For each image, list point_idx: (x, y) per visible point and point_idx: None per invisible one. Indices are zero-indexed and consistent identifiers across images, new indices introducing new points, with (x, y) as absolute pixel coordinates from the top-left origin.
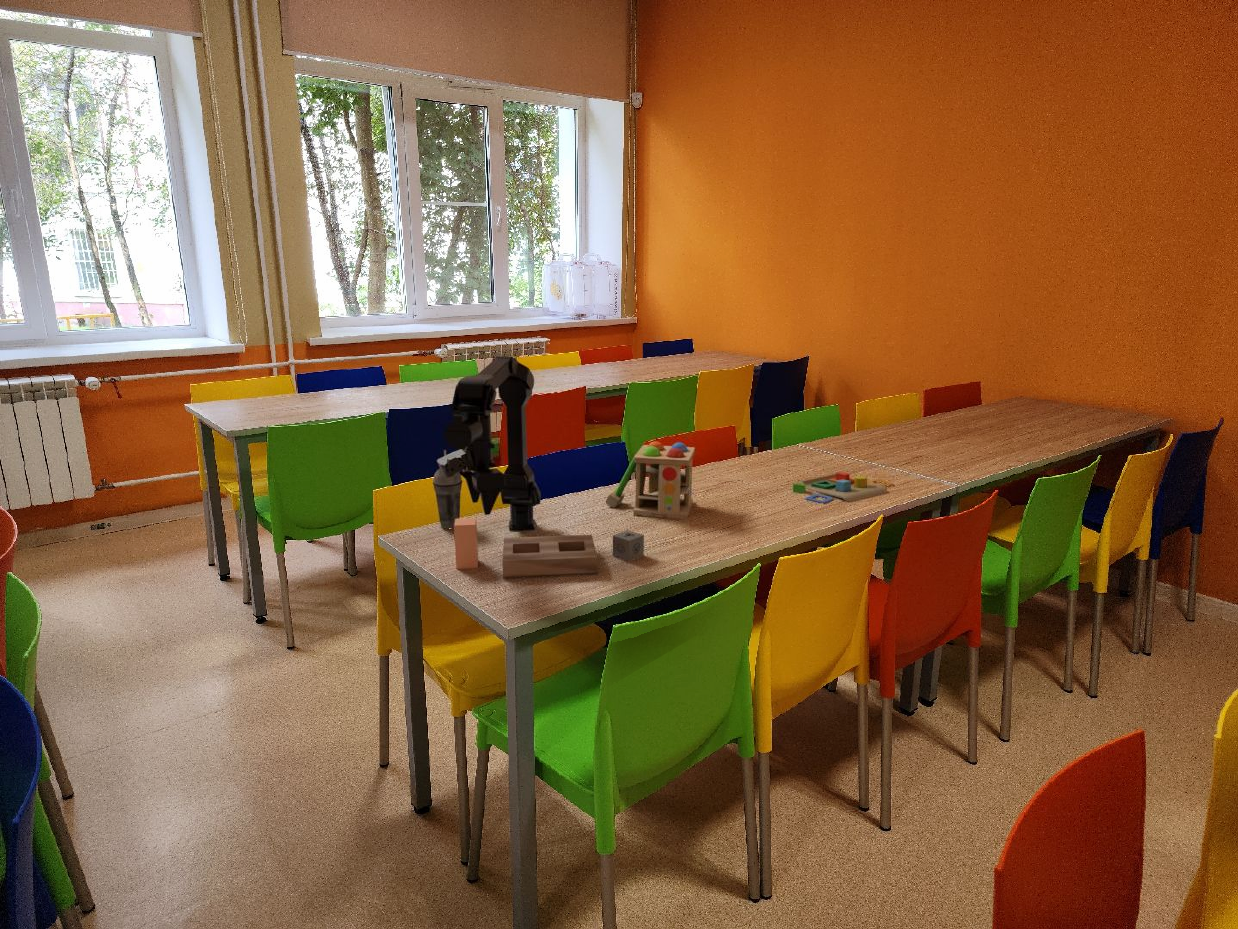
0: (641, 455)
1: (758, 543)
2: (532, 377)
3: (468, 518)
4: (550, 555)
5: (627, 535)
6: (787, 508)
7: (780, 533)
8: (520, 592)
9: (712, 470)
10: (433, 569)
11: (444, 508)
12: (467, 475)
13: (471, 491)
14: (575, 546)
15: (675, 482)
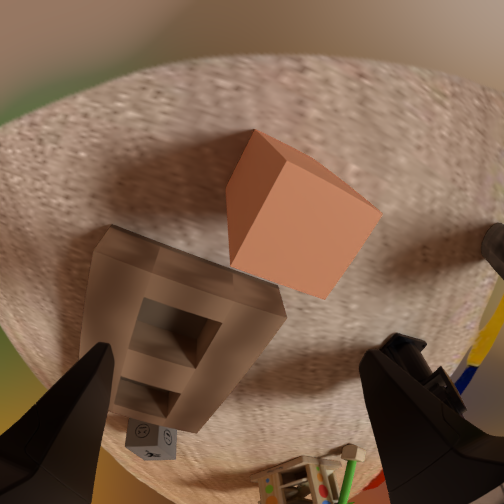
0: None
1: (145, 478)
2: None
3: (343, 268)
4: None
5: (152, 453)
6: (222, 501)
7: (164, 488)
8: (31, 232)
9: (351, 487)
10: (292, 67)
11: None
12: (465, 482)
13: (401, 401)
14: (171, 402)
15: None
